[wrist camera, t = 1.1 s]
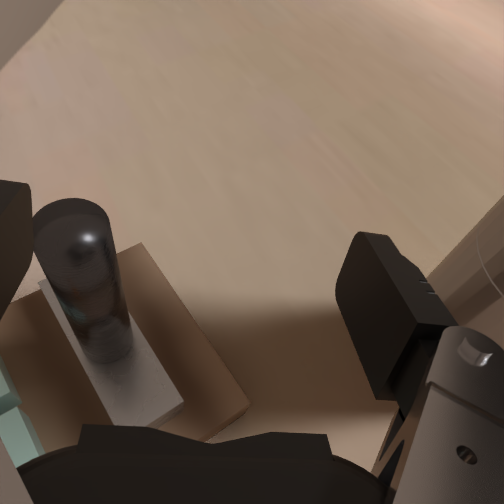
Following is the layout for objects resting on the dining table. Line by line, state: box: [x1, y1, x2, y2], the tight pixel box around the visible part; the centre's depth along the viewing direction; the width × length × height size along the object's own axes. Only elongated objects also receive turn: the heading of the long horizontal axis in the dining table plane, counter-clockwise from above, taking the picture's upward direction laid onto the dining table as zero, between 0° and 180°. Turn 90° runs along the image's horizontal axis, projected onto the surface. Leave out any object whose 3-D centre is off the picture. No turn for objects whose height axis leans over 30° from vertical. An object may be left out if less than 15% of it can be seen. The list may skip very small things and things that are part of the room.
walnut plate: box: [0, 242, 251, 453], centre depth 30 cm, size 18×15×3 cm
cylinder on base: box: [33, 198, 184, 429], centre depth 24 cm, size 4×12×14 cm, turn 36°
